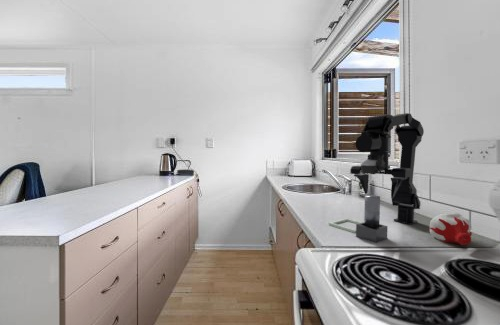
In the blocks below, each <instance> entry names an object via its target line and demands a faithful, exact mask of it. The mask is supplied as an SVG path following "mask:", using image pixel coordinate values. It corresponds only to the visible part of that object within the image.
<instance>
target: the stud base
mask: <svg viewBox="0 0 500 325" xmlns="http://www.w3.org/2000/svg"><path fill="white" fill-rule="evenodd" d="M354 237H356V235H355V236H354ZM356 238H359V237H356ZM359 239H361V240H364V241H368V242H371V243H374V244H378V243H381V242H384V241H386V240H388V237H387V239H385V240H382V241H379V242H377V243H375V242H372V241H369V240H366V239H362V238H359Z"/></svg>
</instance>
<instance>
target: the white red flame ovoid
mask: <svg viewBox="0 0 500 325" xmlns="http://www.w3.org/2000/svg"><path fill="white" fill-rule="evenodd" d="M428 228H429V233H430V235H431V236H432V237H433V238H434V239H437V240H438V241H441V242H444V243H449V244H456V245H457V244H459V245H460V246H461V245H462V246H463V245H465V246H466V245H468V244H470V243H471V242H472V237H471V236H472V235H473V232H472V231H471V230H472V223H471V222H470V220H469V219H468V218H466V217H465V216H463V215H462V214H460V213H458V212H455V213H446V212H445V213H444V212H443V213H441V214H438V215H436V216H435V217H433V218H432V219H431V220H430V223H429V227H428Z"/></svg>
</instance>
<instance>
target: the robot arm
mask: <svg viewBox="0 0 500 325" xmlns="http://www.w3.org/2000/svg"><path fill="white" fill-rule="evenodd" d="M404 124H408V125H404ZM400 125H401V126H400ZM394 127H395V129H394ZM393 129H394V131H395V133H396V135H397V140H398V142H399V144H400V145H401V153H400V162H399V167H394V168H392V169H391V165H389V158H390V157H391V154H390V153H389V146H390V144H389V140H390V139H391V137H392V136H391V135H390V134H389V132H390V131H391V130H393ZM424 131H425V130H424V127H423V126H422V124H421V122H420V121H419V120H418V119H415V118H414V117H413V116H412V113H409V112H408V113H406V112H405V113H398V114H396V115H392V114H380V115H371V116H369V117H368V118H367V120H366V122H365V125H364V127H363V130H362V131H361V132H360V133H361V134H360V135H359V136H358V137H357V138H356V141H355V143H354V145H355V148H356V150H357V151H358V152H360V153H368V154H367V160H364V161H363V162H362V163H361V164H360V165H352V166H351V167H350V171H349V172H350V173H349V174H351V175H353V177H356V178H357V180H359V182H360V185H361V187H362V190H363V192H364V195H368V191H369V179H370V178H369V176H370V175H376V174H379V175H391V176H392V177H390V182H391V188H390V189H391V190H390V198H391V205H392V206H394V207H395V206H396V207H397V217H396V218H394V219H393V222H399V223H402V224H406V225H414V224H415V223H418V220H417V219H415V210H420V209H421V201H420V198H419V196H418V194H417V193H418V191H417V188H416V186H415V185H414V183H413V181H414V180H413V179H414V169H415V162H416V161H415V160H416V159H415V158H416V148H417V147H418V145H419V144H420V143H421V142H422V139H423V135H424Z"/></svg>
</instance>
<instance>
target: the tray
mask: <svg viewBox="0 0 500 325" xmlns="http://www.w3.org/2000/svg"><path fill="white" fill-rule="evenodd" d="M345 222H348V223H352V224H355V225H356V224H360V223H363V222H364V221H363V222H362V221H358V220H354V219H352V218H351V219H350V218H342V219H338V220H335V221H331V222H328V226H331V227H333V228H337V229H341V230H343V231H347V232H351V233H354V234H356V228H355V229H353V228H351V227H346V226H344V225H340V224H341V223H345Z"/></svg>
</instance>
